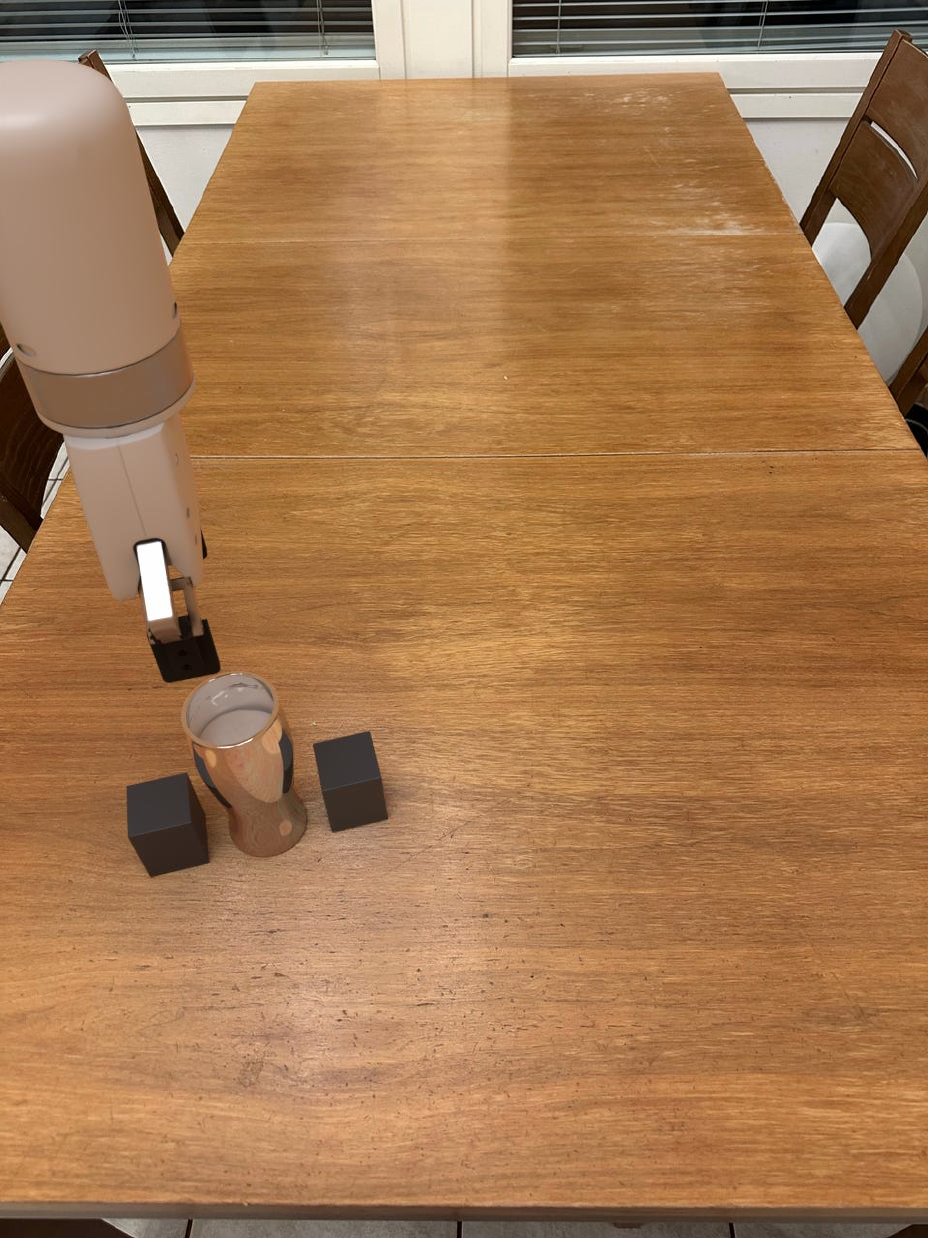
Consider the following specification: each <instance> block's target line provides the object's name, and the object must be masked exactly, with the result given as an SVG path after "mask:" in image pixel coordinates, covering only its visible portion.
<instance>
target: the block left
mask: <svg viewBox="0 0 928 1238" xmlns="http://www.w3.org/2000/svg"><path fill="white" fill-rule="evenodd" d="M125 790H126V820H127V821H126V822H127V823H126V824H127V825H126V826H127V839H128V840H129V842H130V844H131V846H132V848H133V849H134V851H135V852H136V854H137V856H138V858H139V860H140V862H141V863H142V865H143V867H144V869H145V870H146V872H147V874H148V876H149V877H150V878H152V877H156V876H161V875H164V874H165V875H166V874H169V873H173V872H176V871H181V870H185V869H188V868H193V867H197V866H198V867H199V866H201V865H205V864H209V863H210V853H209V844H208V831H207V821H206V813H205V811H204V808H203V806H202V804H201V801H200V798H199V797H198V794H197V792H196V790H195V787H194V785H193V782H192V780H191V778H190V775H189V773H188V772H182V773H178V774H173V775H170V776H164V777H160V778H157V779H151V780H147V781H146V780H145V781H142V782H138V783H134V784H129V785H126V789H125Z"/></svg>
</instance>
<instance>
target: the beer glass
mask: <svg viewBox="0 0 928 1238" xmlns="http://www.w3.org/2000/svg"><path fill="white" fill-rule="evenodd" d="M185 698H186V699H185V700H184V702H183V704H182V706H181V707H182V708H181V712H180V722H181V726H182V729H183V731H184V736H185V739H186V743H187V746H188V751H189V753H190V756H191V759H192V762H193V765H194V766H195V769H196V770H197V773H198V775H199V777H200V778H201V780H202V781H203V783H204V785H205V786H206V788H207V789H208V790H209V792H210V793H211V794H212V795H213V797H214V798H215V799H216V800H217V801H218V802H219V803H220V805H221V806H222V807H223V808H224V810H225V811H226V813H227V816H228V831H229V835H230V838H231V840H232V842H233V844H234V845H235V846H236V847H237V848H238V850H240V851H242V852H243V854H244V853H245V854H246V855H249V856H252V857H255V858H270V857H274V856H275V857H276V856H277V855H281V854H282V853H285V852H287V851H289V850H290V849H291V848H292V847H294V845H296V844H297V843H298V841H299V840H300V839H301V838H302V836H303V834H304V833H305V830H306V828H307V823H308V814H307V813H308V811H307V808H306V806H305V803H304V802H303V800H302V799H301V797H300V796H299V794H298V793H297V791H296V788H295V745H294V740H293V736H292V731H291V728H290V725H289V721H288V718H287V716H286V712H285V710H284V708H283V706H282V703H281V701H280V699H279V694H278V692H277V689H276V688H275V686H274V685H273V684H272V683H271V682H270V681H269V680H268V679H267V678H266V677H264V676H262V675H260V674H258V673H254V672H250V671H246V670H245V671H244V670H232V671H227V672H226V671H225V672H223V673H222V672H221V673H217V674H214V675H212V676H211V677H209V678H207V679H205V680H203V681H202V682H200V683H199V684H198V685H196V687H194V688H193V689H192V691H190V693H189V694H188V695H187V697H185Z"/></svg>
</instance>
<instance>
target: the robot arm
mask: <svg viewBox="0 0 928 1238" xmlns="http://www.w3.org/2000/svg"><path fill="white" fill-rule="evenodd" d="M139 145H140V144H139V142H138V137H137V133H136V130H135V126H134V123H133V120H132V116H131V113H130V109H129V106H128V104H127V102H126V100H125V98H124V96H123V95H122V93H121V91H120V90H119V88H118V87H117V86H116V85H115V84H114V83H113V81H111V80H110V78H108V77H107V76H106V75H105V74H103V73H102V72H100V71H98V70H97V69H95V68H93V67H91V66H88V65H85V64H82V63H76V62H74V61H68V60H62V59H61V60H59V59H51V58H50V59H47V58H28V59H16V60H9V61H8V60H7V61H2V62H0V324H1V327H2V329H3V332H4V335H5V337H6V339H7V341H8V343H9V347H10V348H11V350H12V354H13V356H14V360H15V362H16V364H17V367H18V369H19V372H20V374H21V377H22V379H23V382H24V384H25V387H26V389H27V391H28V394H29V397H30V399H31V402H32V404H33V407H34V410H35V412H36V414H37V416H38V418H39V419H40V421H41V422H42V423H43V424H44V425H45V426H47V428H50V429H51V430H53V431H56V432H58V433H59V434H62V437H63V441H64V446H65V450H66V455H67V459H68V463H69V468H70V471H71V476H72V479H73V483H74V487H75V489H76V493H77V496H78V499H79V503H80V506H81V509H82V513H83V515H84V518H85V521H86V524H87V527H88V531H89V534H90V537H91V540H92V543H93V545H94V549H95V552H96V555H97V557H98V561H99V564H100V567H101V570H102V573H103V576H104V579H105V582H106V584H107V588H108V590H109V593H110V595H111V597H113V598H114V599H115V600H116V601H118V602H120V603H123V602H125V601H133V600H136V596H137V593H138V597H139V601H140V606H141V611H142V615H143V620H144V624H145V628H146V638H147V641H148V643H149V645H150V649H151V651H152V654H153V657H154V659H155V661H156V665H157V668H158V670H159V672H160V673H159V674H160V675H161V678H162V681H163V682H165V683H169V684H171V683H176V682H177V683H178V682H182V681H186V680H192V679H197V678H202V677H207V676H214V675H218V674H220V672H221V670H222V669H221V661H220V657H219V654H218V651H217V648H216V644H215V640H214V638H213V635H212V634H213V633H212V631H211V627H210V624H209V620H208V618H205V619H202V616H201V611H200V607H199V606H200V605H199V601H198V596H197V591H196V589H197V587H199V586H200V584H201V583H202V582H203V581H204V579H205V569H204V560H205V559H206V558H207V557H208V547H207V544H206V540H205V537H204V534H203V530H202V527H201V518H200V507H199V499H198V493H197V486H196V480H195V474H194V468H193V463H192V457H191V454H190V449H189V445H188V439H187V437H186V433H185V428H184V424H183V421H182V417H181V413H180V412H181V411H182V410H183V409H184V408H185V407H186V406H187V405H188V404H189V402H190V401H191V399H192V397H193V395H194V394H195V391H196V386H197V380H196V375H195V374H196V373H195V369H194V366H193V363H192V358H191V354H190V350H189V346H188V342H187V338H186V334H185V330H184V326H183V325H184V324H183V320H182V318H181V314H180V308H179V306H178V305H179V304H178V301H177V297H176V293H175V290H174V285H173V281H172V277H171V273H170V269H169V265H168V261H167V256H166V253H165V249H164V244H163V240H162V237H161V233H160V228H159V224H158V220H157V216H156V211H155V207H154V203H153V200H152V195H151V191H150V187H149V183H148V179H147V175H146V170H145V166H144V162H143V158H142V154H141V150H140V146H139ZM170 566H172V567H173V568H174V569H175V570H176V571H177V572H178V573H179V574H180V575H181V577H176V578H171V574H170V569H169V567H170ZM177 591H182V592H183V593H182V594H183V598H184V602H185V607H186V611H187V615H180V616H179V612H178V610H177V608H176V604H175V600H174V594H173V592H177Z"/></svg>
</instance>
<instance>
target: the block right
mask: <svg viewBox="0 0 928 1238" xmlns="http://www.w3.org/2000/svg"><path fill="white" fill-rule="evenodd" d="M312 749H313V753H314V754H313V755H314V758H315V763H316V769H317V774H318V780H319V785H320V789H321V794H322V799H323V803H324V807H325V810H326V814H327V818H328V823H329V826H330V831H331V833H336V832H341V831H345V830H349V829H354V828H357V827H362V826H367V825H369V824H373V823H378V822H381V821H387V820H388V819H389V816H388V810H387V804H386V798H385V791H384V785H383V779H382V773H381V769H380V765H379V761H378V757H377V753H376V750H375V745H374V741H373V736H372V733H371V730H366V731H362V732H358V733H354V734H353V733H352V734H349V735H344V736H340V737H336V738H331V739H328V740H323V741H322V740H321V741H317V742H314V743H312Z"/></svg>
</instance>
